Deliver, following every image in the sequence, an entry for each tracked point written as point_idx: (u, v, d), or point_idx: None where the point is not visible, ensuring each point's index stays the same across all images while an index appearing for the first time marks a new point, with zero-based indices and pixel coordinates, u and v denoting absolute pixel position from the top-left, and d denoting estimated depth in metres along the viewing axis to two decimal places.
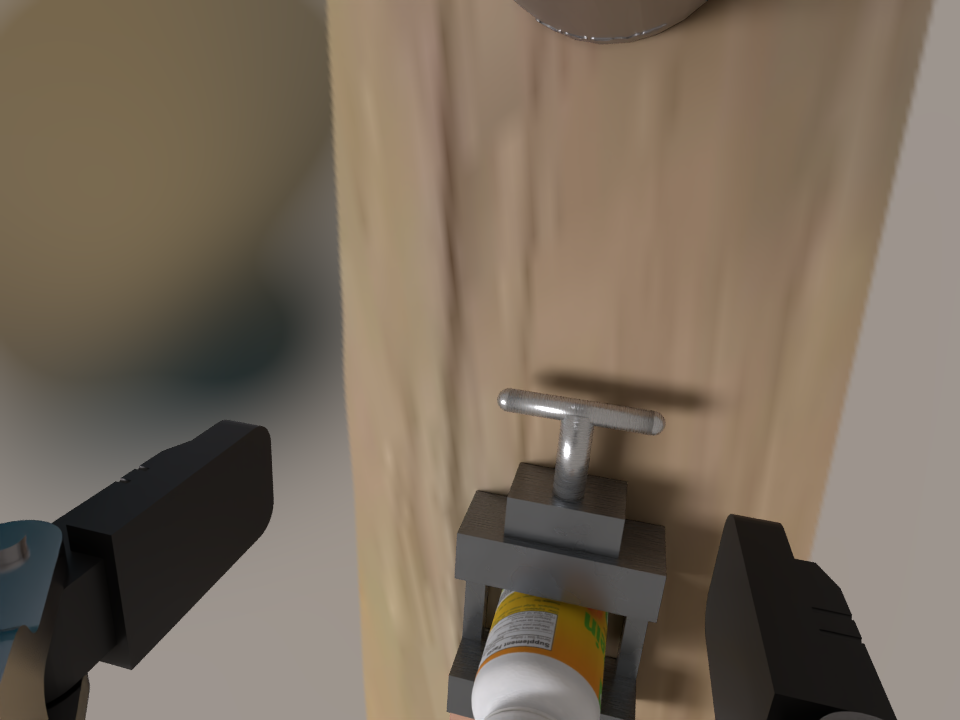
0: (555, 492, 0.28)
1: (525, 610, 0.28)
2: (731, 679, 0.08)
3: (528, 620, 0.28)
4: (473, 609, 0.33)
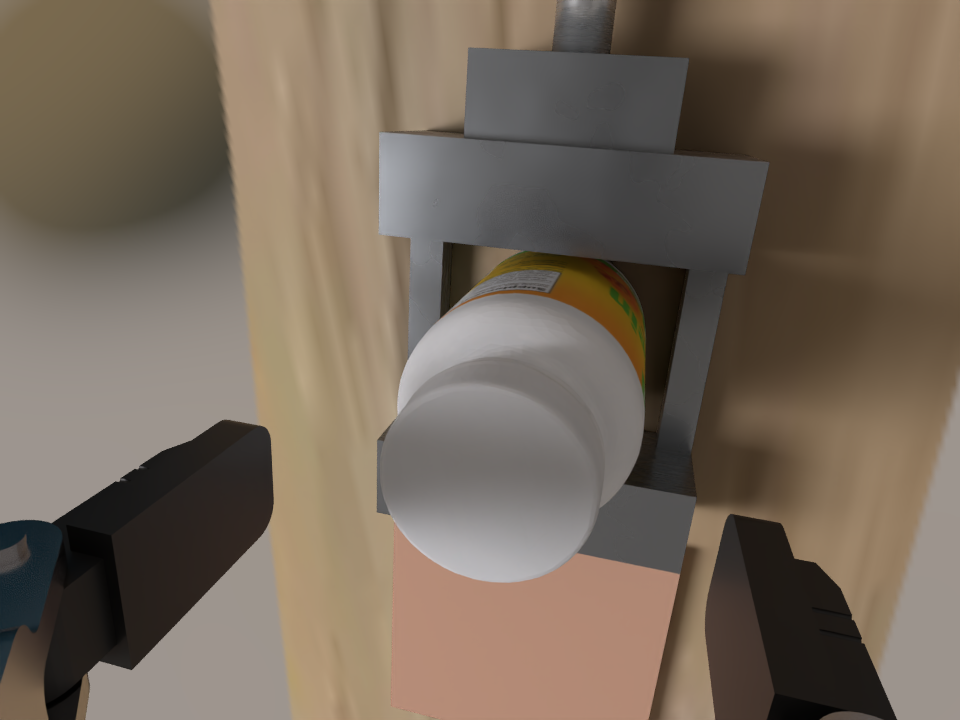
0: (557, 47, 0.15)
1: (503, 273, 0.16)
2: (731, 679, 0.08)
3: (506, 277, 0.15)
4: None
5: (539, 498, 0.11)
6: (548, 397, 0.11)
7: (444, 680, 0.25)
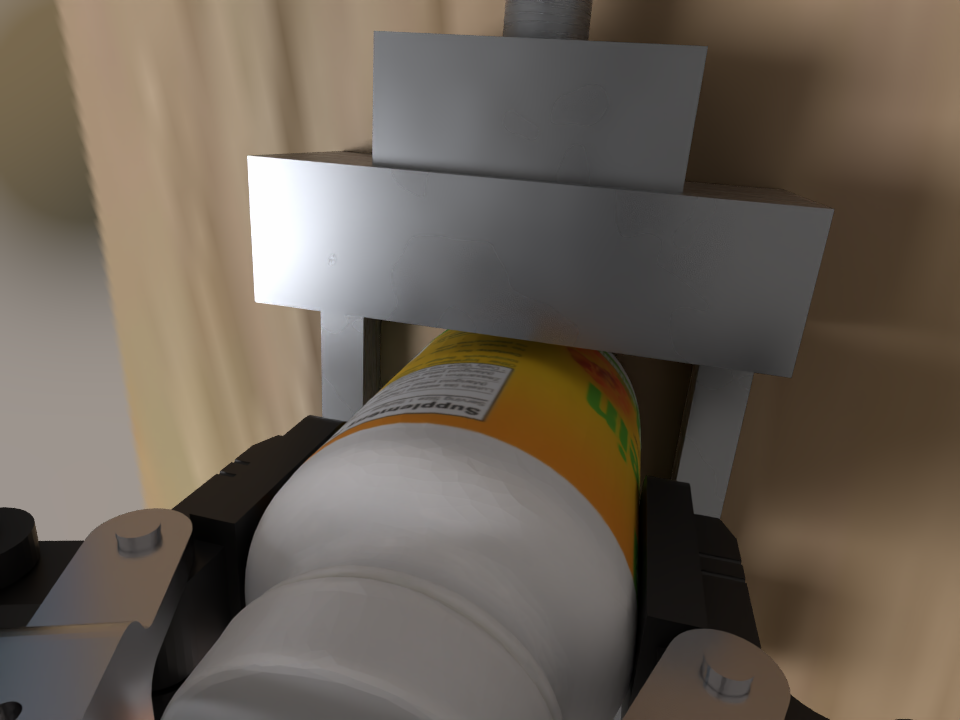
0: (508, 31, 0.10)
1: (429, 366, 0.11)
2: None
3: (429, 377, 0.10)
4: None
5: None
6: (449, 685, 0.05)
7: None
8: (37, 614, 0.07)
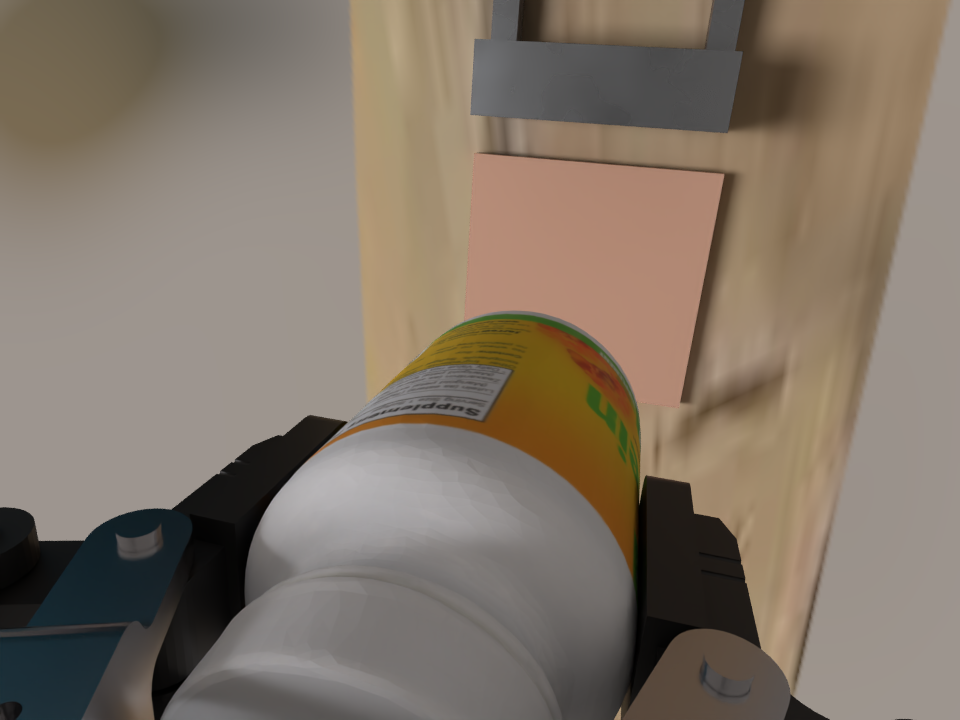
0: None
1: (429, 367, 0.11)
2: None
3: (429, 378, 0.10)
4: None
5: None
6: (448, 683, 0.05)
7: None
8: (37, 614, 0.07)
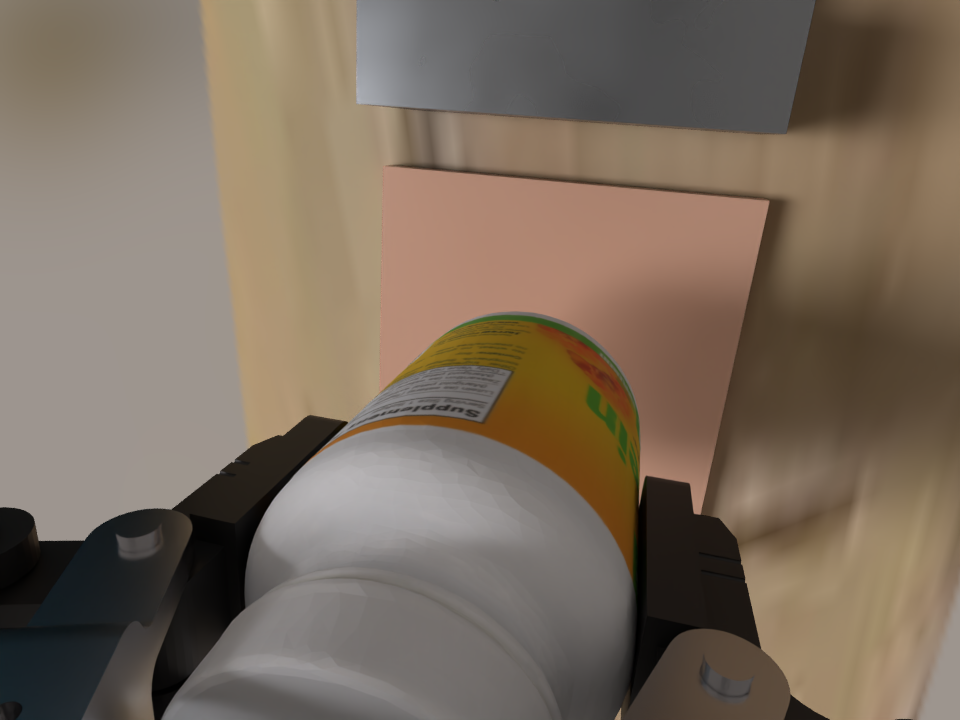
0: None
1: (429, 367, 0.11)
2: None
3: (428, 380, 0.10)
4: None
5: None
6: (448, 686, 0.05)
7: None
8: (38, 614, 0.07)
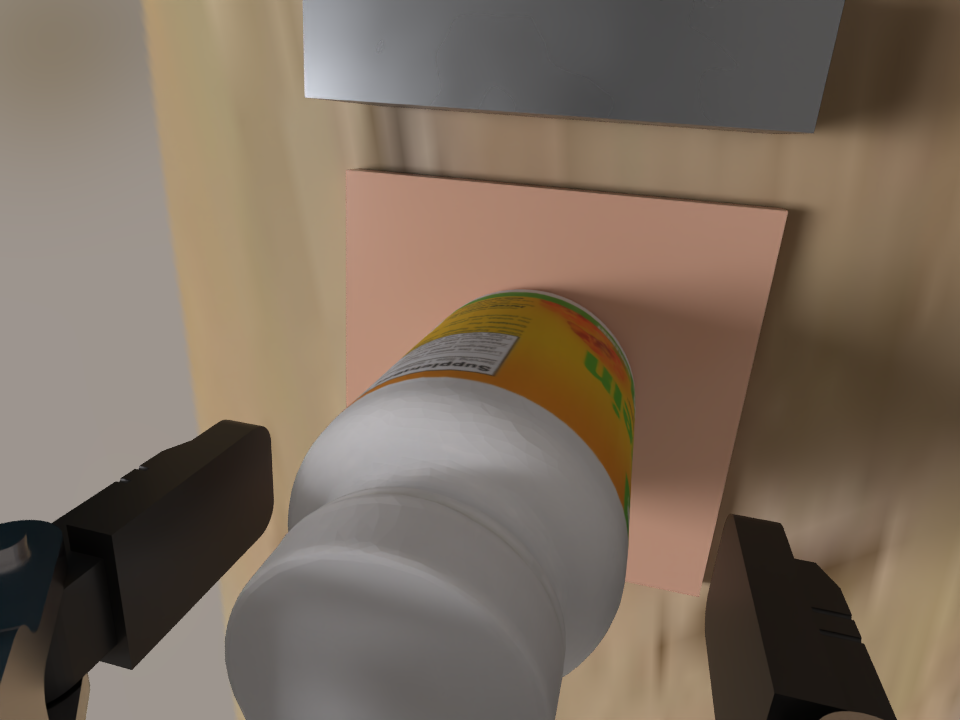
0: None
1: (444, 335, 0.12)
2: (731, 679, 0.08)
3: (445, 344, 0.11)
4: None
5: (460, 718, 0.07)
6: (469, 568, 0.07)
7: None
8: None
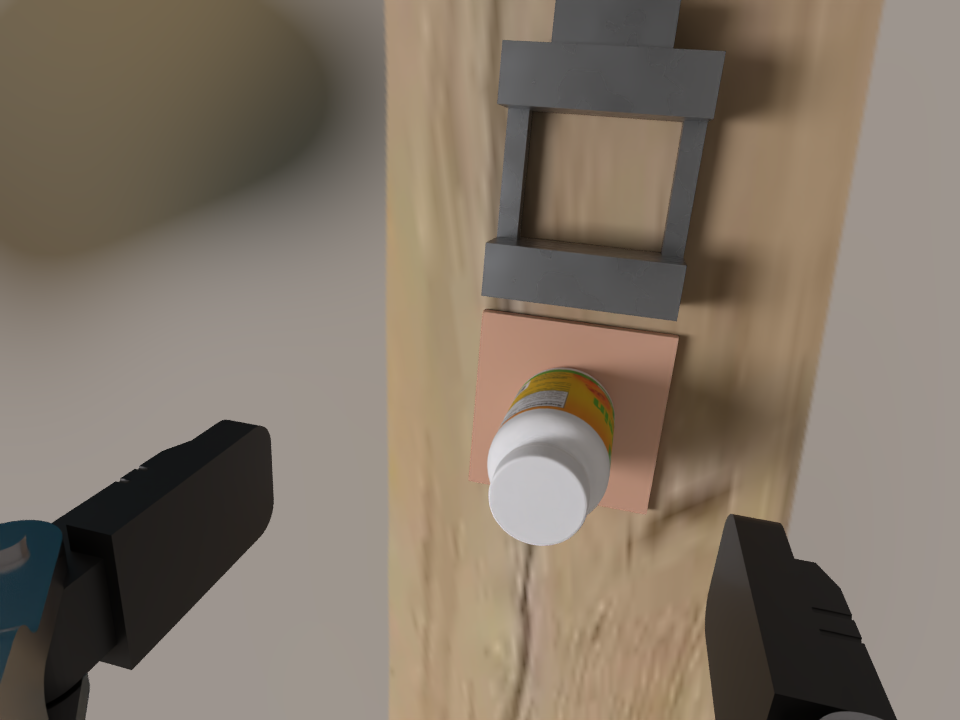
0: None
1: (538, 391, 0.30)
2: (731, 679, 0.08)
3: (540, 395, 0.29)
4: (510, 195, 0.31)
5: (561, 505, 0.25)
6: (565, 461, 0.25)
7: None
8: None
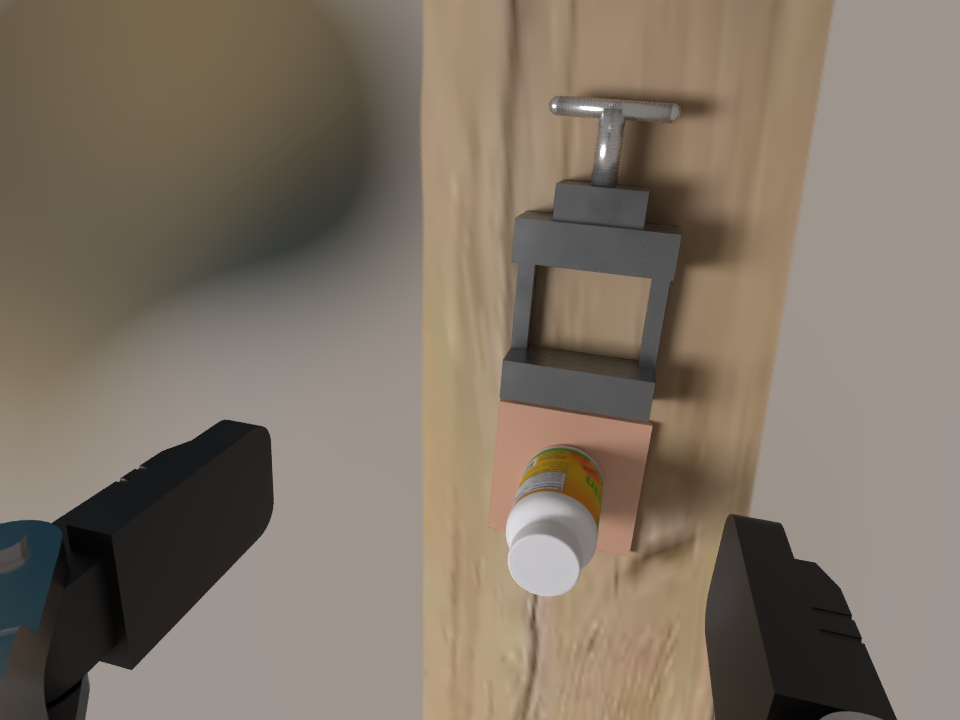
0: (593, 182, 0.35)
1: (543, 471, 0.39)
2: (731, 679, 0.08)
3: (545, 476, 0.39)
4: (521, 318, 0.40)
5: (561, 569, 0.34)
6: (564, 538, 0.34)
7: None
8: None
